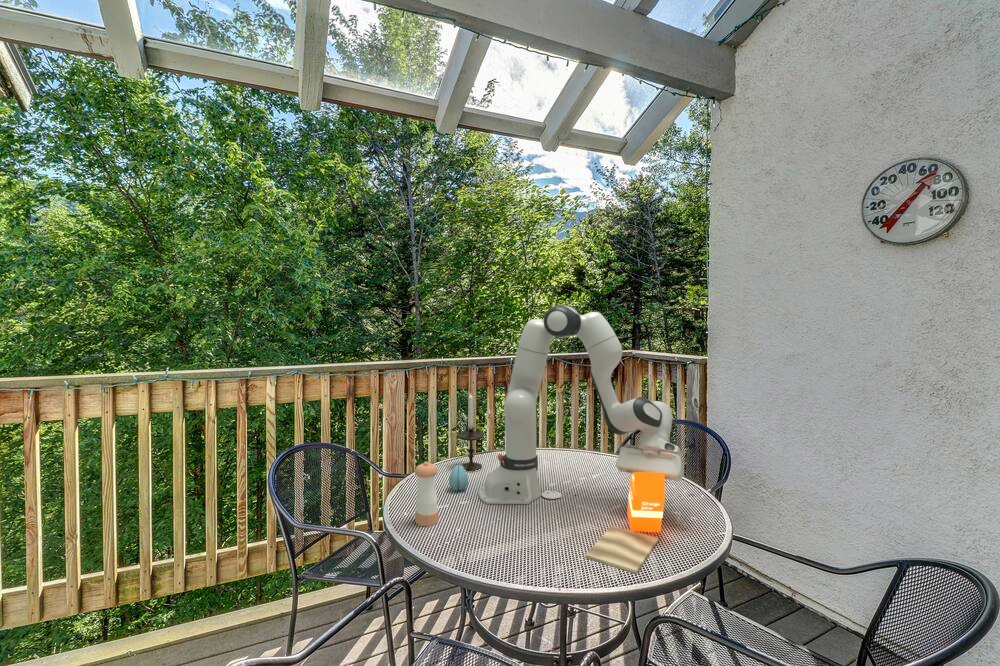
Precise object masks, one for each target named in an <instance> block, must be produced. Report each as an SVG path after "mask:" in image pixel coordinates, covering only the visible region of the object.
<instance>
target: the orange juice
mask: <svg viewBox="0 0 1000 666" xmlns="http://www.w3.org/2000/svg"><path fill="white" fill-rule="evenodd" d="M665 481H666V479H665V477H664V473H655V472H634V473H632V475H631V476H630V480H629V488H628V490H629V491H628V498H627V500H628V501H627V510H626V512H627V519H628V523H629V530H630V531H634V532H647V533H661V531H662V530H661V529H662V521H663V517H664V509H665V503H666V502H665V501H666V484H665V483H666V482H665Z"/></svg>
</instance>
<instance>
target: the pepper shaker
mask: <svg viewBox="0 0 1000 666" xmlns="http://www.w3.org/2000/svg"><path fill="white" fill-rule="evenodd" d="M414 469H415V470H414V474H415V476H416V477H417V491H416V499H415V506H416V507H415V509H416V510H415V511H414V513H415V515H414V517H415V518H414V520H415V521H414V522H416V523H415V524H416V525H417V524H418V525H420V526H419V527H423V526H427V527H432V526H435V525H437V524H438V523H439V508H438V497H437V491H436V475H437V473H438V467H437V466H436V465H435V463H434V464H433V463H432V462H428V461H424V462H423V463H420V464H418V465H417V466H416V467H415V468H414ZM437 522H438V523H437ZM436 523H437V524H436ZM434 524H435V525H434ZM418 525H417V526H418Z"/></svg>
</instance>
